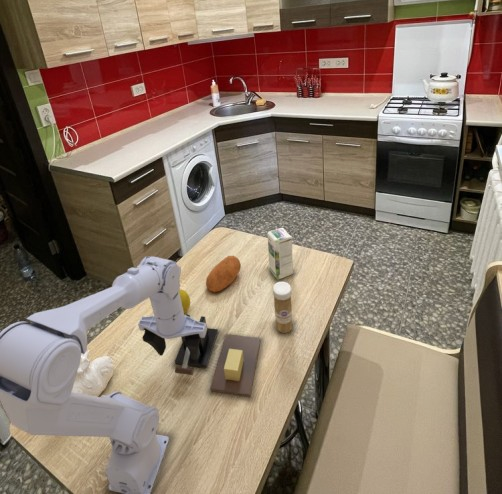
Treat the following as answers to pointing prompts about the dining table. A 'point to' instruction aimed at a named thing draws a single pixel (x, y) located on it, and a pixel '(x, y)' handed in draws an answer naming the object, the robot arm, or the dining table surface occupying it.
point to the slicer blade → (185, 365)
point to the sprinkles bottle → (283, 306)
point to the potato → (223, 274)
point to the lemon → (184, 300)
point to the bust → (93, 375)
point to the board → (248, 369)
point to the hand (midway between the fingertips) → (178, 353)
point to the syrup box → (280, 253)
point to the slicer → (199, 348)
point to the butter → (233, 364)
